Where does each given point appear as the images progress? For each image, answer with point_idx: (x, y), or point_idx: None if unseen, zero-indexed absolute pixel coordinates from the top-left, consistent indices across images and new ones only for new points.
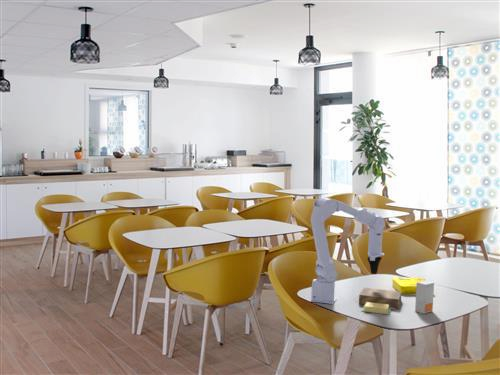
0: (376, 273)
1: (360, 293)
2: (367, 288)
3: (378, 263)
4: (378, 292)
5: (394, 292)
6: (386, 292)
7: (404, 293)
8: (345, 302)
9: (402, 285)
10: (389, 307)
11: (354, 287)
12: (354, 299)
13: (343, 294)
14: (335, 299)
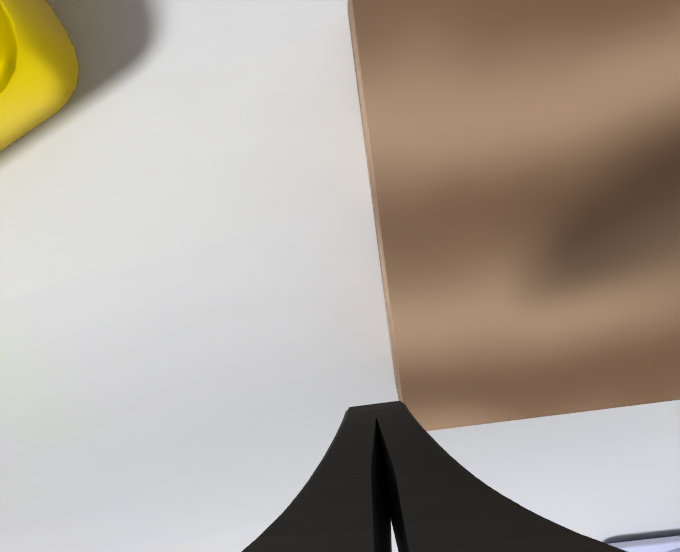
0: (377, 405)
1: (666, 397)
2: (422, 391)
3: (554, 523)
4: (531, 237)
5: (432, 54)
6: (484, 149)
7: (66, 41)
8: (652, 459)
9: (6, 53)
10: None
11: (154, 529)
12: (526, 424)
13: None
14: (651, 545)
